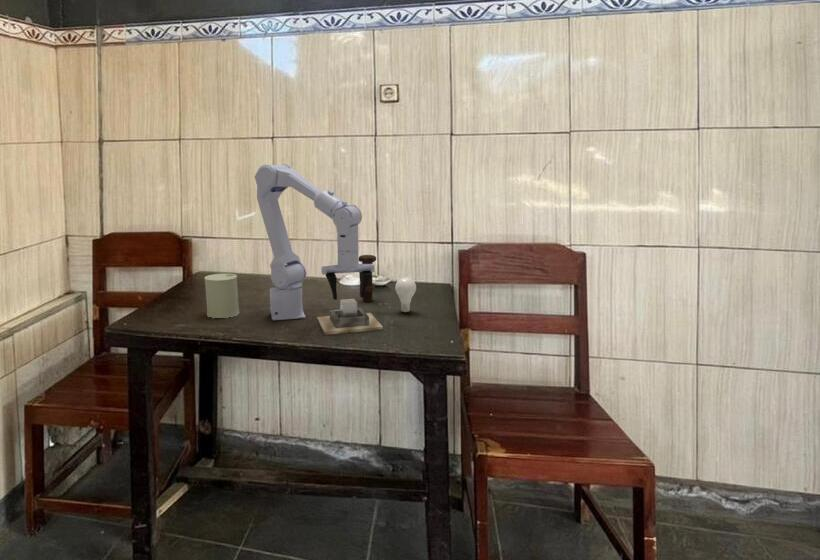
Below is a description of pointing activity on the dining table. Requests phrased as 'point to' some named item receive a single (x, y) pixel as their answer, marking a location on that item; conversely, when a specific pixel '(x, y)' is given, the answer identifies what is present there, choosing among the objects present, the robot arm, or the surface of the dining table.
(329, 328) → the socket base
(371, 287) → the bolt
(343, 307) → the peg
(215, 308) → the can
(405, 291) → the lightbulb
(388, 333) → the dining table surface
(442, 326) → the dining table surface
